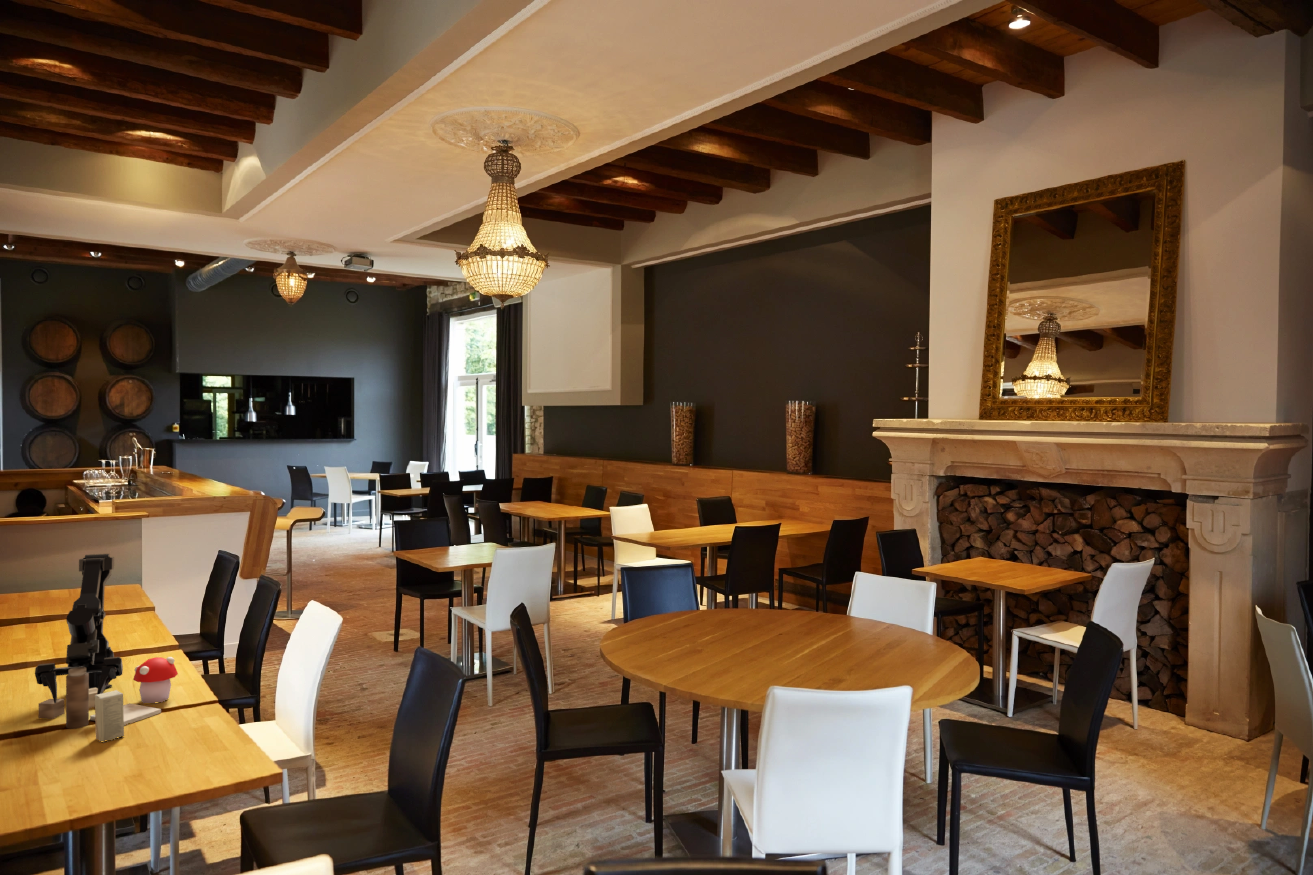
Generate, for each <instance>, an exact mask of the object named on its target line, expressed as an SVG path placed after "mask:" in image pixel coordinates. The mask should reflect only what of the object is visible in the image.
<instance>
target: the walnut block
mask: <svg viewBox="0 0 1313 875" xmlns="http://www.w3.org/2000/svg"><path fill="white" fill-rule="evenodd" d="M64 714H65V698H57V701H56V703H54V700H53V698H47V699H46V700H43V701H41V702H39V703H38V719H40V718H47V719H48V720H49V719H51V720H54V719H56V718H58V717H60V716H63V715H64ZM57 716H58V717H57ZM47 719H46V720H47Z"/></svg>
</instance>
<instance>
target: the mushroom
mask: <svg viewBox="0 0 1313 875" xmlns="http://www.w3.org/2000/svg"><path fill="white" fill-rule="evenodd" d="M178 674H179V673H178V671H177V669H176V666H175V658H174V657H172V656H167V657H166V658H164V657H159V656H158V657H157V656H156V657H151V658H148V659H146V660H145V661H144V662H142V664H140V665H137V666H135V667H134V676H133V679H132V680H133V681H135V682H136V683H140V686H139V689H138V690H139V695H140V700H141V703H142V702H143V703H142V704H144V703H155V702H161V703H163V701H164V702H166V701H165V700H167V699H168V698H169V697H170V693H171V690H172V689H171V687H172V683H171V679H173V678H176V677H177V676H178ZM169 699H170V698H169ZM169 699H168V700H169ZM168 700H167V701H168ZM155 704H156V703H155Z"/></svg>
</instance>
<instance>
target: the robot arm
mask: <svg viewBox="0 0 1313 875" xmlns="http://www.w3.org/2000/svg"><path fill="white" fill-rule="evenodd" d="M114 568H115V557H114V556H111V554H110V553H97V554H95V553H93V554H85V556H84V557H82V558H79V559H78V572H81V576H82V580H81V586H80V593H79V594H80V595H79V597H78V598H77V599H76V600H75V601H73V605H72V607H71V608H72V609H71V610H69V611H68V614H67V616H66V618H65V620H66V624H67V627H68V632H69V634H70V635H71V636H70V644H67V645H66V659H65V664H66V665H67V666H63V667H61V666H60V667H56V663H55V662H50V663H41V664H40V663H39V664H37V666H35V668H34V676H35V680H36V684H38V685H42V686H43V687H47V688H48V689H49V691H50V693H51V696H52V699H53V700H54V703H56V701H57V699H58V682H57V677H58V676H67V675H69V669H72V668H76V667H86V672H87V673H89V689H91V688H98V691H97V695H98V694H102V692H103V693H104V691H105V690H106V689H108V688H112V687H113V684H110V682H111V681H112V680H115V679H117V677H121V676H122V675H123V673H124V670H123V669H124V668H123V667H124V666H123V660H122V659H123V658H122V657H121V656H115V655H114V651H113V649H112V648H111V646H110V645H109V644H110V642H109V640H108V638H107V637H106V636H105V635H104V619H105V618H106V611H105V610H104V608H105V588H106V586H105V584H106V583H107V581H109V579H110V578H111V576H112V570H114Z"/></svg>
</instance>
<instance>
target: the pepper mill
mask: <svg viewBox="0 0 1313 875" xmlns="http://www.w3.org/2000/svg"><path fill="white" fill-rule="evenodd" d="M89 710H90V708H89V673H87V672H86V667H76V668H72V669H69V675H65V728H66V729H69V730H70V729H73V730H75V729H79V728H84V727H86V726H88V725H89V722H90V721H89V720H90V714H89V712H90V711H89Z"/></svg>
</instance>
